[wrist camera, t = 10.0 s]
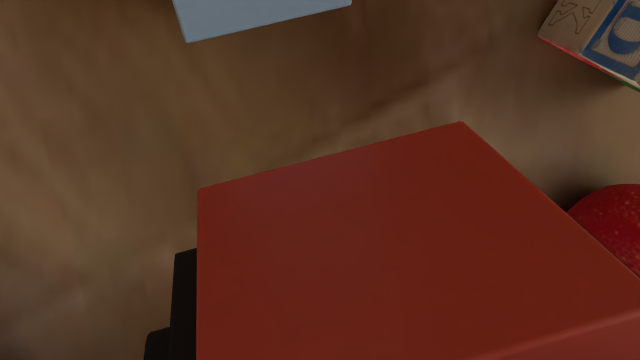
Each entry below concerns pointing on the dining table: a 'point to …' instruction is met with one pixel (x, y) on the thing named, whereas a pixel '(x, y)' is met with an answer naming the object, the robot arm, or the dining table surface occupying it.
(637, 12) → the stack of blocks
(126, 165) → the dining table surface
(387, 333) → the red block
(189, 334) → the robot arm
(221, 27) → the block line
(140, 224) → the dining table surface
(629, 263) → the apple
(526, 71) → the dining table surface
